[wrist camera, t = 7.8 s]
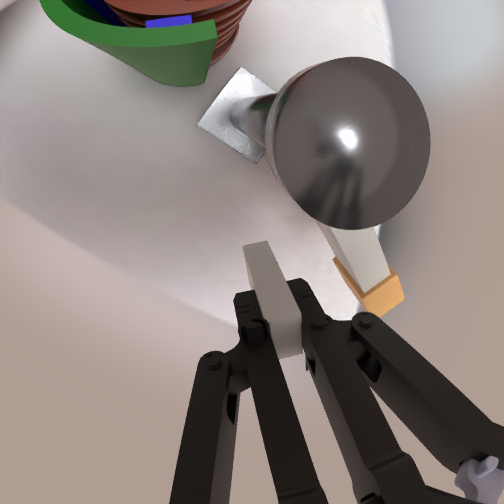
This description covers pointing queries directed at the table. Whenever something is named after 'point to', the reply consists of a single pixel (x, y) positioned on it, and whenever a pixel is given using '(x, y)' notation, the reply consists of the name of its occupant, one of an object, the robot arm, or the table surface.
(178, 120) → the table surface
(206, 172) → the table surface
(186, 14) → the motor
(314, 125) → the post
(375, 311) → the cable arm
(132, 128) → the table surface
